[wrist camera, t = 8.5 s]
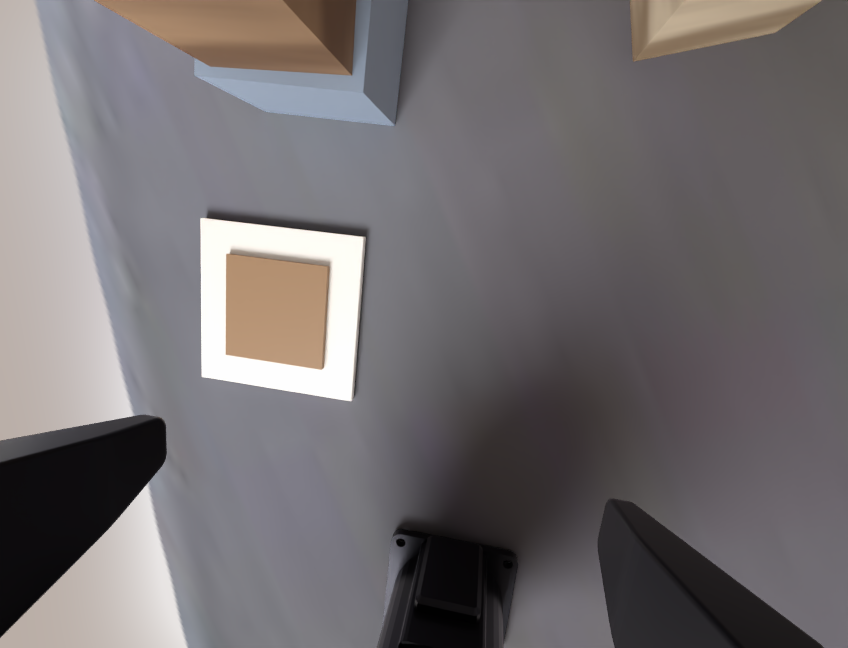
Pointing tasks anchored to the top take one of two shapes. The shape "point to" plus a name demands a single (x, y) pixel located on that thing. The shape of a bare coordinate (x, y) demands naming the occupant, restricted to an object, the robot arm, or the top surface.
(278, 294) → the swatch
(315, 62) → the walnut block
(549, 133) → the top surface
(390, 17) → the base block
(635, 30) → the maple block
